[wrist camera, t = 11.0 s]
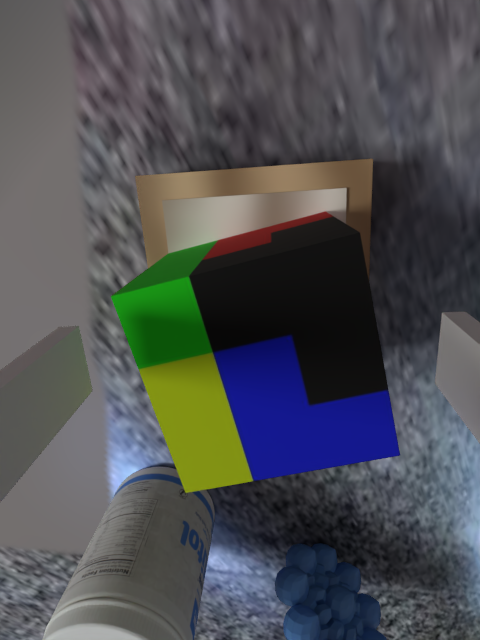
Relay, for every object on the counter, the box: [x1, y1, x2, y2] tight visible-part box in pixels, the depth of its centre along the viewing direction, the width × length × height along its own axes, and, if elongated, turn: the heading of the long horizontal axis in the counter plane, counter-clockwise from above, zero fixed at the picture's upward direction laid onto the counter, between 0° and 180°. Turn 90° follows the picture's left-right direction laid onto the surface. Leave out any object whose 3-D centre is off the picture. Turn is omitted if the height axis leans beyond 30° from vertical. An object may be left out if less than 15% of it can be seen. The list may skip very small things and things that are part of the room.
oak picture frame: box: [135, 159, 373, 279], centre depth 29 cm, size 14×14×5 cm
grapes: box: [275, 543, 386, 640], centre depth 34 cm, size 12×7×12 cm, turn 51°
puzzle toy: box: [111, 211, 400, 493], centre depth 22 cm, size 10×10×10 cm
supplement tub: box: [43, 467, 215, 640], centre depth 32 cm, size 10×10×15 cm
